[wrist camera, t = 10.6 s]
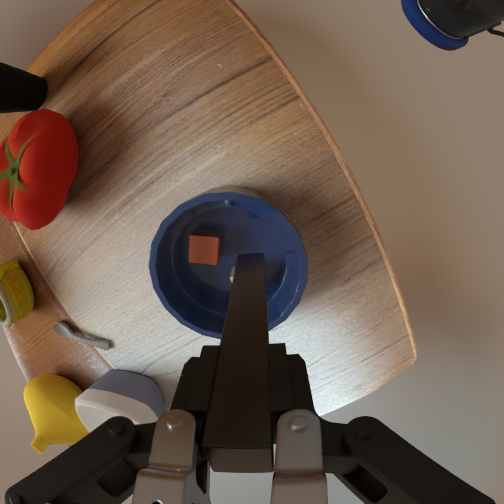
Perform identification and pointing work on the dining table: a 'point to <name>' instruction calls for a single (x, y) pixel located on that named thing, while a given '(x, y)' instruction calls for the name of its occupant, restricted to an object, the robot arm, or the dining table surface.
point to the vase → (53, 411)
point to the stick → (242, 379)
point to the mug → (14, 293)
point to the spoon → (66, 332)
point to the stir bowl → (226, 257)
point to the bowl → (120, 399)
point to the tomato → (37, 168)
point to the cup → (20, 90)
